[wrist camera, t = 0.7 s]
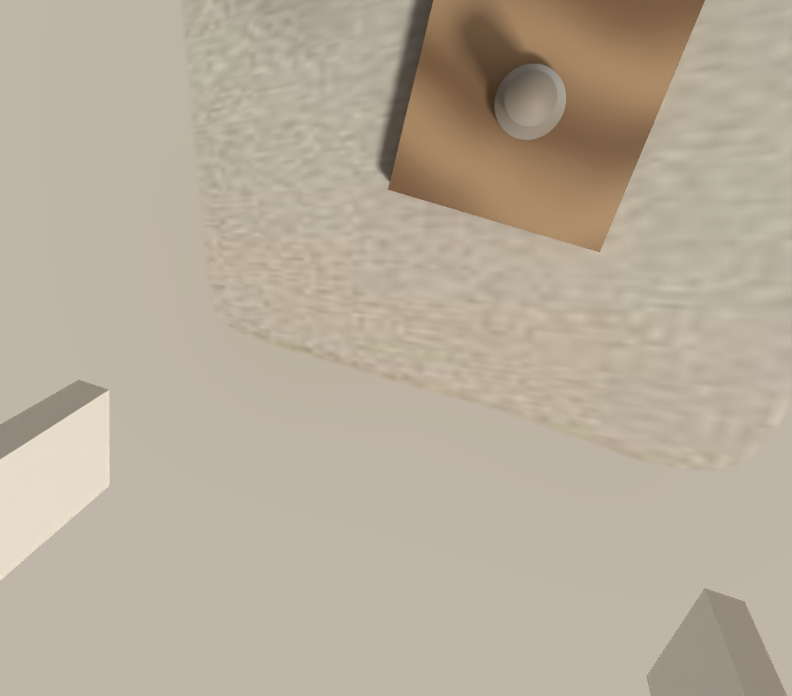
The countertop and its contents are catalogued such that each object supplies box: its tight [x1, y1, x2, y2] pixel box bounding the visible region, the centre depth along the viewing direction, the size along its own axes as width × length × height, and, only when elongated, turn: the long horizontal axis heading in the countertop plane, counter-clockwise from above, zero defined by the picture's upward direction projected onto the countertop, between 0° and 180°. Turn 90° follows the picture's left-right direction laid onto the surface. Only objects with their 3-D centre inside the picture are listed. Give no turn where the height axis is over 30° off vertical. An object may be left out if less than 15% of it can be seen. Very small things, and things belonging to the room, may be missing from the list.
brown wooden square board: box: [388, 0, 705, 252], centre depth 26 cm, size 12×12×6 cm
